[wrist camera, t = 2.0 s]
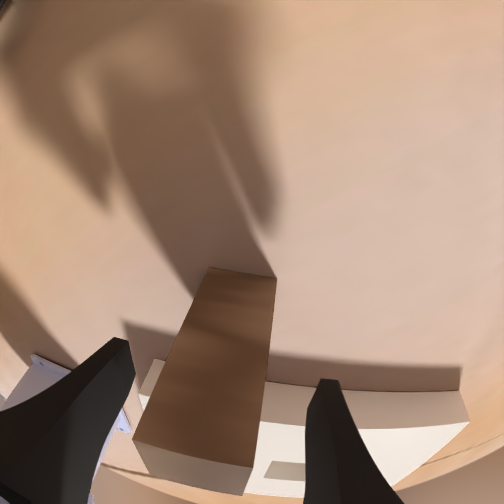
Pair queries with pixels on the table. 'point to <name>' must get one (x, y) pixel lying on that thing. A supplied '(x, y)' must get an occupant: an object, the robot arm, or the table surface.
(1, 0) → the milk frother
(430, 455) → the socket base
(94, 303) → the table surface
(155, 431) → the walnut peg
